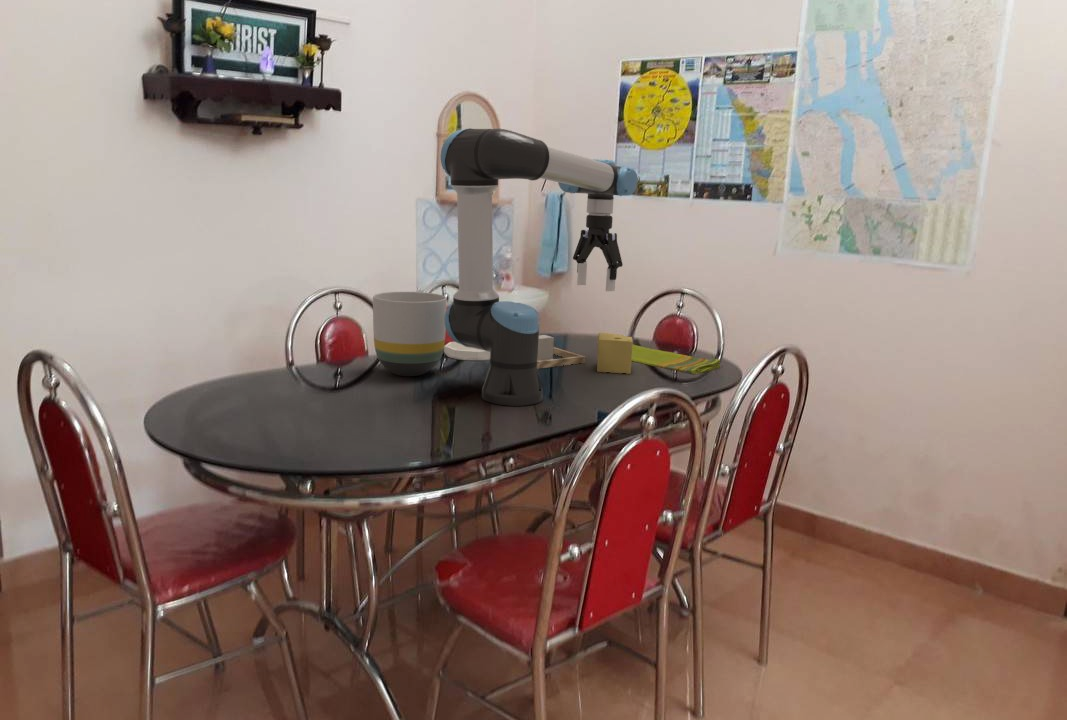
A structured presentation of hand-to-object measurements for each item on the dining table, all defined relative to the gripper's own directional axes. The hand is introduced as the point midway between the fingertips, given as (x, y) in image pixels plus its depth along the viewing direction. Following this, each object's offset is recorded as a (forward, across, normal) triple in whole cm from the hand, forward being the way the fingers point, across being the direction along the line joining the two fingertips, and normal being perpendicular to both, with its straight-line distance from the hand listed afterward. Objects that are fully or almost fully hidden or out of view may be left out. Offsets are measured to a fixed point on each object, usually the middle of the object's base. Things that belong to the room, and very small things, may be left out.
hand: (595, 288), depth 245 cm
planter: (+23, +10, +55) cm, 60 cm away
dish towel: (+24, -4, -23) cm, 34 cm away
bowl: (+23, +26, +26) cm, 43 cm away
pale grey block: (+23, +12, +10) cm, 28 cm away
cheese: (+23, -8, -2) cm, 25 cm away
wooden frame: (+23, +12, +10) cm, 28 cm away
